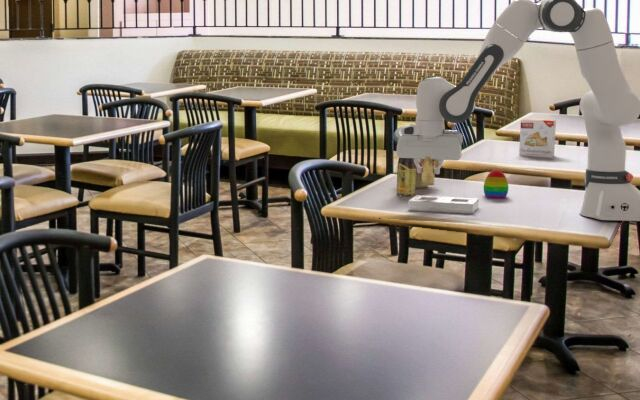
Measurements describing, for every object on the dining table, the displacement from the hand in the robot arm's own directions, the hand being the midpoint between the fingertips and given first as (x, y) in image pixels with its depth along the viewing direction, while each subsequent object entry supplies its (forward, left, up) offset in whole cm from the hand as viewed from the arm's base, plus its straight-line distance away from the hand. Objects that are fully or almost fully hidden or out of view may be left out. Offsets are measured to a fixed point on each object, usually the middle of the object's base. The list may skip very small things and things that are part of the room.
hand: (428, 173), depth 292 cm
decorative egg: (-18, -26, -11) cm, 34 cm away
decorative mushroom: (+10, -33, -11) cm, 36 cm away
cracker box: (-24, -117, -11) cm, 120 cm away
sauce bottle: (+11, -18, -11) cm, 24 cm away
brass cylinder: (0, 0, -4) cm, 4 cm away
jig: (-5, 0, -11) cm, 12 cm away
